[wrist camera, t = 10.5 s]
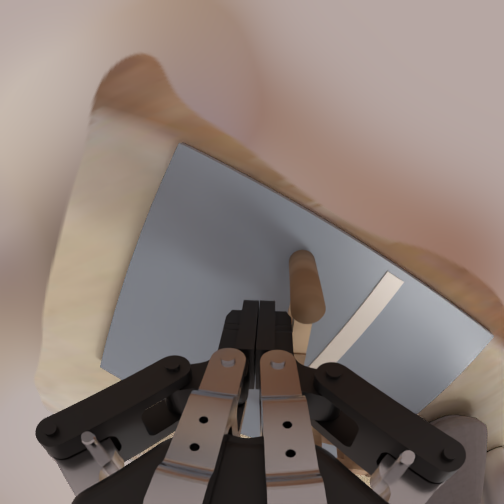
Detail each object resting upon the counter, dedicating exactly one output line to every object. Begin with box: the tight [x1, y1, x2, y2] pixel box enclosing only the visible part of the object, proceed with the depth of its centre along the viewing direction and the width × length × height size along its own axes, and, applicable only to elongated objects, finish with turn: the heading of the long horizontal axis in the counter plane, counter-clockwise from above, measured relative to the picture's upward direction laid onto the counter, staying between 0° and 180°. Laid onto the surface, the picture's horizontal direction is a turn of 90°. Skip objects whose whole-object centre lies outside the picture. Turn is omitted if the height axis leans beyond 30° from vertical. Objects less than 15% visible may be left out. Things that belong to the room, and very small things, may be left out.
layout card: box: [100, 142, 494, 458], centre depth 20 cm, size 26×19×1 cm
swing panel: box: [288, 250, 326, 365], centre depth 16 cm, size 12×1×5 cm, turn 177°
